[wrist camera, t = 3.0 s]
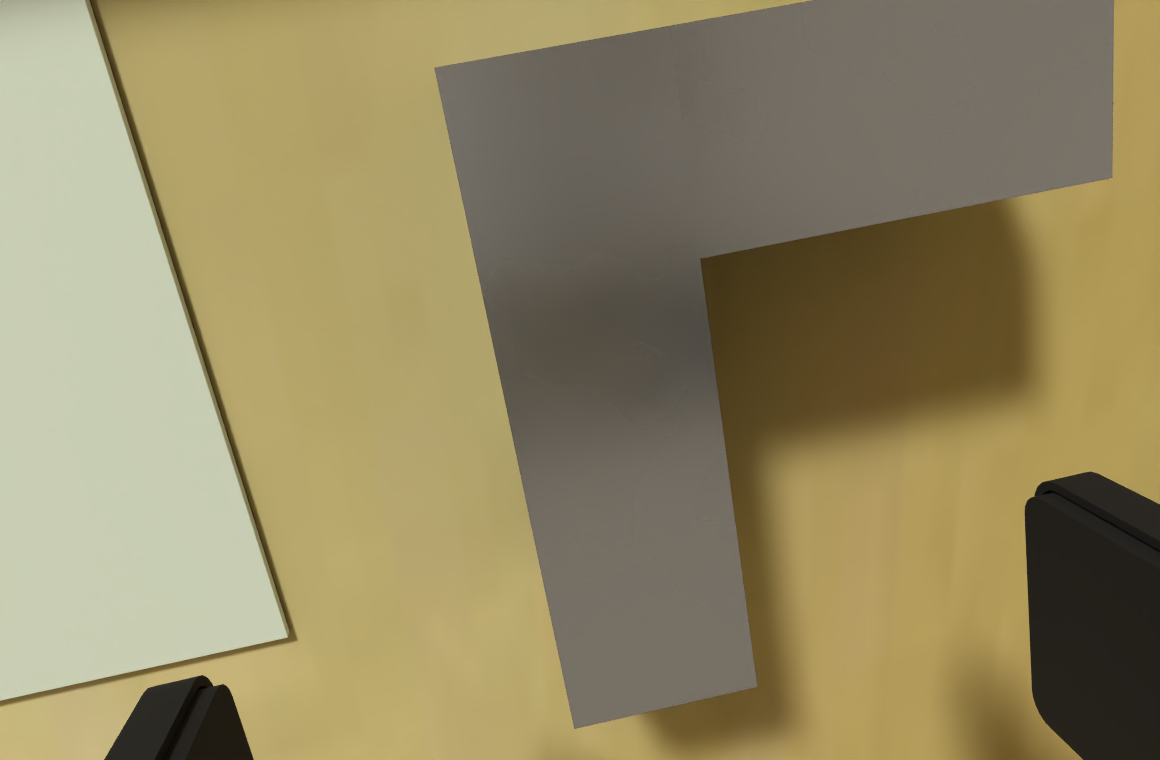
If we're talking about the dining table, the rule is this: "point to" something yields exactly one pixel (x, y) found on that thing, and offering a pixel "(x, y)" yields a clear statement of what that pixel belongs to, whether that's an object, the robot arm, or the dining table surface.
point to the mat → (103, 394)
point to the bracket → (709, 228)
